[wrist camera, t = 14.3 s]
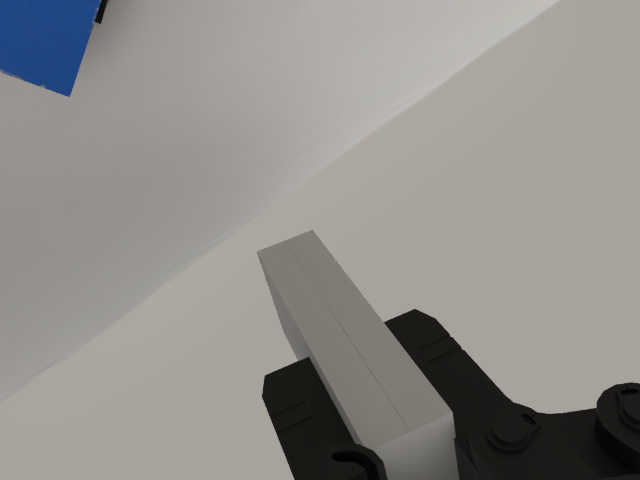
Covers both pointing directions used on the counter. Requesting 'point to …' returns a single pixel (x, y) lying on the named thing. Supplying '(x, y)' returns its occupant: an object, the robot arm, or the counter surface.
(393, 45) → the counter surface
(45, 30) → the toy train
